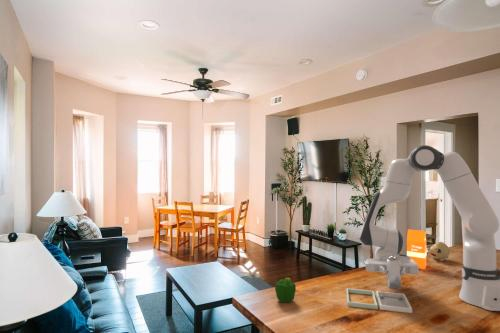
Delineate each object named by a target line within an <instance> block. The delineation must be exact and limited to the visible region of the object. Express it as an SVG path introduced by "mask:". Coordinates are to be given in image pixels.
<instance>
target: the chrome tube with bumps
mask: <svg viewBox="0 0 500 333" xmlns="http://www.w3.org/2000/svg"><path fill="white" fill-rule="evenodd" d="M386 281H387V282H386V286H387V288H388V289H390V290H395V291H396V290H399V291H400V290H401V289H402V275H401V265H400V259H399V258H398V257H394V256H391V257H389V258H387V274H386Z"/></svg>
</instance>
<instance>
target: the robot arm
mask: <svg viewBox="0 0 500 333" xmlns="http://www.w3.org/2000/svg"><path fill="white" fill-rule="evenodd" d="M431 170H434V171H435V172H436V173H437V174H438V175H439V176H440V179H441V181H442V184H443V185H444V188H445V189H446V191H447V193H448V195H449V197H450V199H451V200H452V202H453V204H454V206H455V208H456V210H457V212H458V214H459V216H460V218H461V233H462V264H461V277H462V280H461V288H460V291H459V294H458V298H459V299H460V300H461V301H463V302H465V303H467V304H470V305H472V306H474V307H475V306H476V307H479V308H482V309H483V310H487V311H494V312H495V311H496V312H500V269H499V268H497V246H496V242H495V234H496V233H497V232H498V230H499V227H500V221H499V218H498V216H497V214H496V213H495V211H494V209H493V207H492V206H491V204H490V203H489V200H488V199H487V198H486V195H485V194H484V193H483V191H482V189H481V187H480V186H479V184H478V182H477V180H476V178H475V176H474V174H473V173H472V171H471V169H470V167H469V166H468V164H467V163H466V160H464V159H463V157H462V156H461V154H459V153H458V152H456V151H447V152H444V153H442V152H441V151H440V150H438V149H436V148H435V147H433V146H430V145H425V144H423V145H418V146H417V147H415V148H414V149H413V150H412V151H411V152H410V154H409V155H408V156H407V157H406V158H397V159H393V160H392V161H391V162H390V164H389V167H388V170H387V173H386V176H385V181H384V184H383V186H382V188H381V189H380V190H378V191H376V192H375V194H374V195H373V198H372V199H371V202H370V205H369V208H368V211H367V212H366V216H365V219H364V221H363V223H362V226H361V227H360V229H359V232H358V237H359V241H360V242H361V243H362V244H363V245H364V246H370V247H375V251H374V257H375V258H366V259H365V260H364V261H363V264H364V265H365V271H367V272H371V273H372V272H373V273H382V274H383V275H387V258H389V257H391V256H394V257H398V258H399V259H400V265H401V276H406V275H419V273H420V270H419V269H420V268H419V266H418V264H417V263H416V262H415V261H414V260H412V259H410V256H407V254H401V252H402V250H403V246H404V238H403V235H402V233H401V232H400V230H399V229H397V228H392V227H387V226H386V227H385V226H382V225H376V224H375V222H376V219H377V216H378V213H379V210H380V209H381V208H382V207H383V206H386V205H390V204H396V203H397V204H398V203H399V202H403V201H406V199H407V198H408V197H409V196H410V193H411V191H412V185H413V180H414V176H415V175H416V173H418V172H427V171H431Z"/></svg>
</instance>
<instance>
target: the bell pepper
mask: <svg viewBox="0 0 500 333" xmlns="http://www.w3.org/2000/svg"><path fill="white" fill-rule="evenodd" d="M296 288H297V287H296V283H295V282H293V281H292V279H291V278H290V277H285V278H284V279H280V280H278V281H276V282H275V283H274V289H275V290H274V291H275V295H276V298H277V300H278V301H279V303H292V302H293V301H294V299H295V295H296V291H297V289H296Z"/></svg>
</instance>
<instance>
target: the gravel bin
mask: <svg viewBox="0 0 500 333" xmlns="http://www.w3.org/2000/svg"><path fill="white" fill-rule="evenodd" d="M375 297H376V301H377V304H378V305H379V306H378V307H379V309H380V310H382V311H388V312H389V311H391V312H398V313H399V312H400V313H410V314H413V308H412V306H411V303H410V302H409V299H408V298H407V296H406V295H405V293H400V292H399V293H398V292H389V291H378V290H376V291H375Z"/></svg>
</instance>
